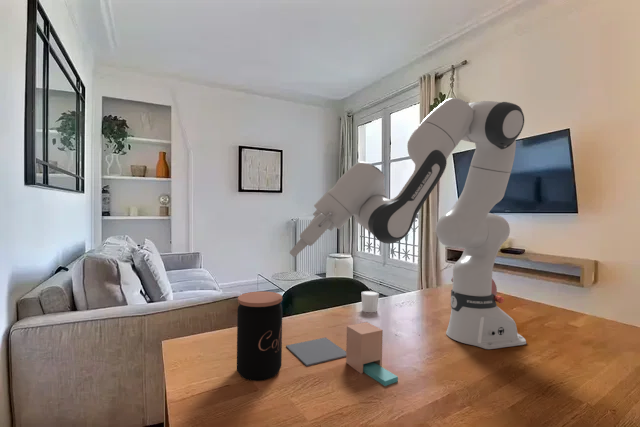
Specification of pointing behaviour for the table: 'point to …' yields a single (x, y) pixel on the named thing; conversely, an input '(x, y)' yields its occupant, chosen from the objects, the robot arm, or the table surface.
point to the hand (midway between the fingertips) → (293, 253)
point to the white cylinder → (369, 301)
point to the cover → (363, 345)
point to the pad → (316, 351)
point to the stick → (379, 373)
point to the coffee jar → (259, 335)
